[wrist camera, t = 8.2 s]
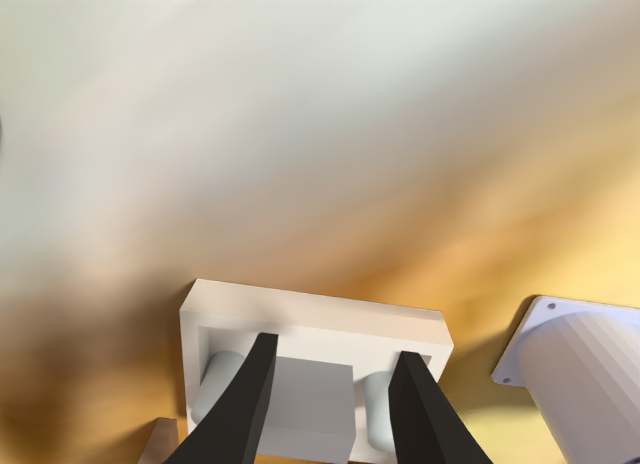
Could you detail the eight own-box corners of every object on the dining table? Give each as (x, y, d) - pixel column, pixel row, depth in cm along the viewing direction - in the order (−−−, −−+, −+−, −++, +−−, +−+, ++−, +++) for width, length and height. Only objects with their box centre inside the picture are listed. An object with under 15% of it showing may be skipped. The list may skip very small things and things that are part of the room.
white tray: (440, 311, 23) (471, 391, 18) (393, 428, 30) (405, 512, 24) (197, 278, 23) (155, 351, 18) (202, 404, 29) (172, 486, 24)
